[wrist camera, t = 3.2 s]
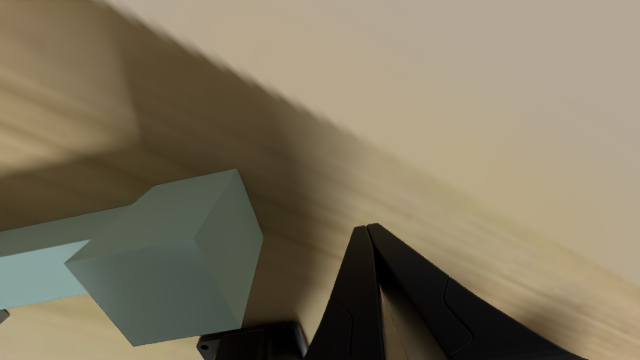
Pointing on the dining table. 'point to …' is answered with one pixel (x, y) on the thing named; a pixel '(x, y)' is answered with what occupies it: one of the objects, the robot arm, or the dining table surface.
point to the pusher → (146, 259)
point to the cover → (3, 315)
